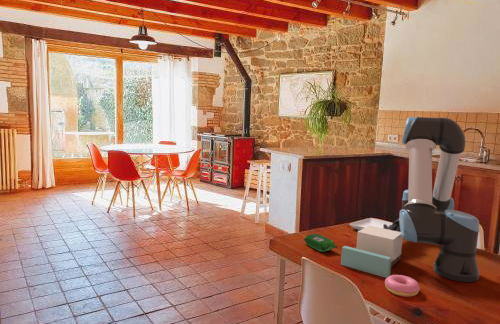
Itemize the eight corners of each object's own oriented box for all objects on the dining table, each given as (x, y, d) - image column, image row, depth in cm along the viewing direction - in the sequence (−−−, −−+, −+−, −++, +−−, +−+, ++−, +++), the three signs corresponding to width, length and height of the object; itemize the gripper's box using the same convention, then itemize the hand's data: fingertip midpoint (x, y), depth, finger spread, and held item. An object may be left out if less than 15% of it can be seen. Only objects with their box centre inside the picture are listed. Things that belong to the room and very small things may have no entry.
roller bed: (400, 260, 157) (400, 254, 157) (385, 273, 144) (386, 267, 143) (366, 251, 166) (366, 246, 165) (349, 263, 152) (350, 257, 152)
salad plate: (369, 222, 212) (370, 216, 212) (407, 232, 197) (408, 226, 196) (347, 229, 198) (348, 223, 198) (386, 240, 183) (387, 233, 182)
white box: (400, 254, 157) (402, 232, 156) (391, 262, 148) (393, 239, 147) (367, 245, 166) (368, 225, 164) (355, 253, 156) (357, 231, 155)
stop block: (389, 276, 141) (391, 257, 140) (387, 278, 139) (389, 259, 138) (343, 262, 152) (344, 245, 151) (340, 264, 150) (342, 247, 149)
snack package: (324, 256, 159) (325, 243, 159) (301, 243, 173) (302, 232, 172) (337, 253, 163) (338, 241, 162) (314, 242, 176) (315, 230, 176)
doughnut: (407, 302, 122) (408, 289, 122) (377, 288, 131) (378, 276, 131) (425, 293, 129) (427, 281, 128) (396, 281, 138) (397, 269, 137)
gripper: (416, 237, 177) (400, 250, 158) (387, 231, 185) (368, 243, 166) (418, 221, 176) (401, 232, 157) (389, 215, 184) (370, 226, 165)
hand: (384, 238), depth 162 cm, fingers closed
